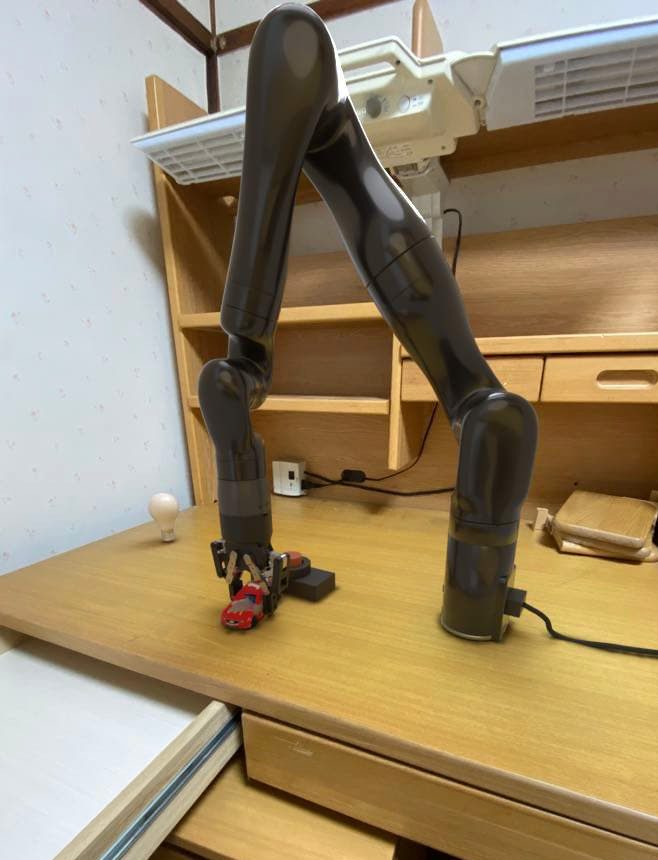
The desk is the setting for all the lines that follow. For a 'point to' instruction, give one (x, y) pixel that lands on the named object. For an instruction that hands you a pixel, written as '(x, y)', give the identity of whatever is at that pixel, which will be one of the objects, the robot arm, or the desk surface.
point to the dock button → (295, 558)
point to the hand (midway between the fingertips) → (253, 607)
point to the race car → (245, 607)
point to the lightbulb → (164, 513)
